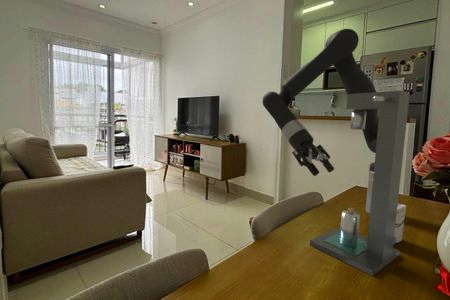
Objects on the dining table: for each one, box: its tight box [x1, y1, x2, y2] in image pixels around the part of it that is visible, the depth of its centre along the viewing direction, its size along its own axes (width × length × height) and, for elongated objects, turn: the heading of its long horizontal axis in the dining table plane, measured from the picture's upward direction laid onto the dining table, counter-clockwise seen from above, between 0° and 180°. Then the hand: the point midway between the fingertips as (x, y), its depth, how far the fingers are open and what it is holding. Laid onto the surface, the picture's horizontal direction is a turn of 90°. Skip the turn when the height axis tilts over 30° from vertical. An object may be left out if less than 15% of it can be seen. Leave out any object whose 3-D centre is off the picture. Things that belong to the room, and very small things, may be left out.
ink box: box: [393, 202, 407, 246], centre depth 77 cm, size 8×5×15 cm, turn 123°
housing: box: [339, 207, 361, 246], centre depth 73 cm, size 5×5×10 cm
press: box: [309, 90, 411, 277], centre depth 69 cm, size 18×18×45 cm
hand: (324, 172), depth 80 cm, fingers open, 8 cm apart
